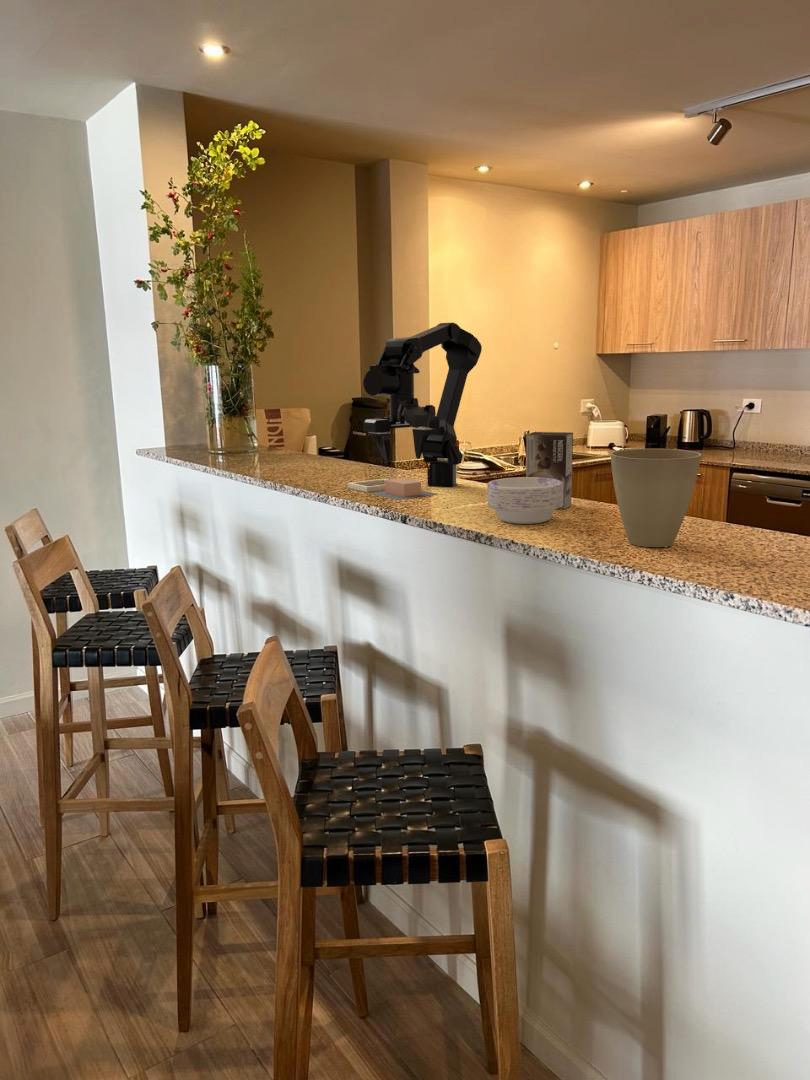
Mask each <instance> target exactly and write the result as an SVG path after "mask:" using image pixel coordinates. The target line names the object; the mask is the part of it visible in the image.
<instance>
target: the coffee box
mask: <svg viewBox="0 0 810 1080" xmlns="http://www.w3.org/2000/svg"><path fill="white" fill-rule="evenodd" d="M525 438H526V439H525V440H526V441H525V442H526V457H525V458H526V464H525V465H526V466H525V469H526V471H525V475H526V476H525V477H540V478H550V479H556V480H559V481H562V482H563V506H561V507H560V508H558V509H559V510H560V509H561V510H563V509H564V510H566V509H568V508H569V507H570V506H572V484H573V482H572V481H573V453H574V452H573V451H574V450H573V449H574V447H573V446H574V432H570V431H569V432H567V431H565V432H563V431H560V432H559V431H556V432H555V431H533V432H530V433H529V434H526V437H525Z"/></svg>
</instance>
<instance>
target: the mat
mask: <svg viewBox="0 0 810 1080" xmlns="http://www.w3.org/2000/svg"><path fill="white" fill-rule="evenodd" d="M385 480H389V478H380V479H379V478H378V479H371V480H363V481H352V482H348V483H347V486H343V488H345V489H349V490H354V491H358V492H362V493H366V494H370V495H375V496H379V497H384V498H388V499H391V500H397V501H400V500H409V499H415V498H416V499H418V498H423V497H431V496H436V495H437V496H438V495H439V493H434V492H431V491H426V490H421V495H413V496H406V497H403V496H399V495H394V494H390V493H385Z"/></svg>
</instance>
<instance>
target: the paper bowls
mask: <svg viewBox="0 0 810 1080" xmlns="http://www.w3.org/2000/svg"><path fill="white" fill-rule="evenodd" d="M486 487H487V488H486V497H487V498H486V499H487V500H486V501H487V506H488V508H490V509H494V510H495V512H496V514H497V517H498V519H500V520H501V521H502V522H505V523H510V524H516V525H533V524H542V523H545V522H547V521H549V520H550V519H551V518H552V516H553V514H554V512H555V510H557V509H559V508H560V507H561V506H563V482H562V481H559V480H556V479H550V478H540V477H526V476H521V477H520V476H519V477H518V476H517V477H505V478H498V479H493V480H490V481H489V482H487V484H486Z"/></svg>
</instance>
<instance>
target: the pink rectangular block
mask: <svg viewBox="0 0 810 1080" xmlns="http://www.w3.org/2000/svg"><path fill="white" fill-rule="evenodd" d="M421 491H422V482H421V481H419V480H413V479H408V478H401V477H397V478H391V479H388V480H385V493H390V494H394V495H399V496H403V497H406V496H413V495H421Z"/></svg>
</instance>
